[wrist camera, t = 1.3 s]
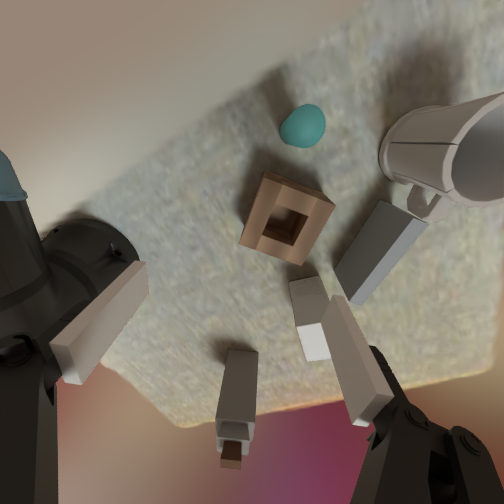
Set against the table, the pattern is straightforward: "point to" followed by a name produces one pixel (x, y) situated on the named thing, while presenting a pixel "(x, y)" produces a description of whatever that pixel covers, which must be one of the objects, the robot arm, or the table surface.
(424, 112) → the cup
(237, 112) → the table surface
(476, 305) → the table surface
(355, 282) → the wall
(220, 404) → the perfume bottle
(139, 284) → the robot arm
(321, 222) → the block
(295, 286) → the small box
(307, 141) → the dowel
